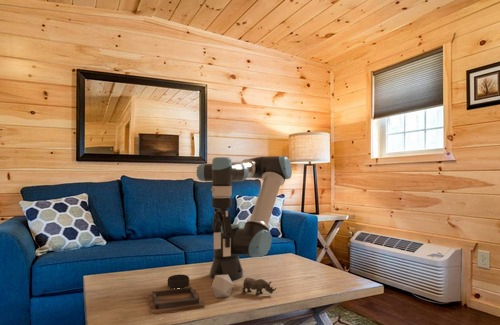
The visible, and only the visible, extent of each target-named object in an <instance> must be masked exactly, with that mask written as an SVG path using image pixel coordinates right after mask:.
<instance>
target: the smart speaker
mask: <svg viewBox="0 0 500 325" xmlns="http://www.w3.org/2000/svg"><path fill="white" fill-rule="evenodd" d="M189 286H190V277H189V275H186V274H173V275H171V276H168V278H167V288H169V287H170V288H169V289H171V288H175V289H177V288H185V287H186V288H188V287H189Z"/></svg>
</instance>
